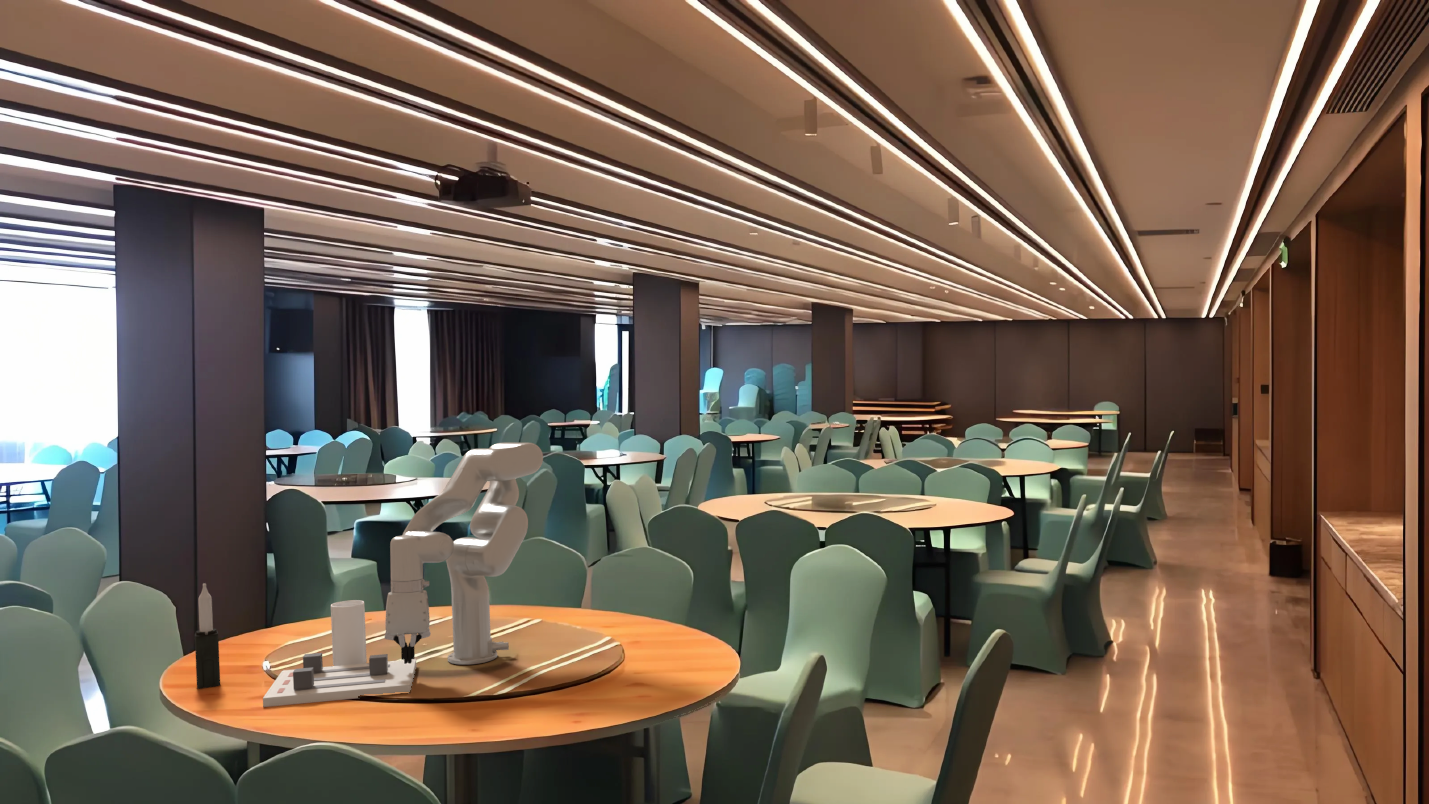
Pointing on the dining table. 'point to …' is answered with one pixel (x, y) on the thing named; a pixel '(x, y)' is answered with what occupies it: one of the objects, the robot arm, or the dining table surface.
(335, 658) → the cup
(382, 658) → the handle
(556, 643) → the dining table surface
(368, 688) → the switch panel
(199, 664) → the black and grey marker
